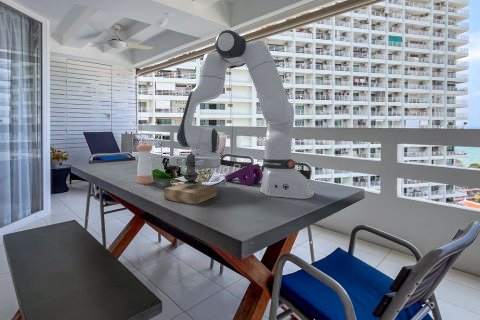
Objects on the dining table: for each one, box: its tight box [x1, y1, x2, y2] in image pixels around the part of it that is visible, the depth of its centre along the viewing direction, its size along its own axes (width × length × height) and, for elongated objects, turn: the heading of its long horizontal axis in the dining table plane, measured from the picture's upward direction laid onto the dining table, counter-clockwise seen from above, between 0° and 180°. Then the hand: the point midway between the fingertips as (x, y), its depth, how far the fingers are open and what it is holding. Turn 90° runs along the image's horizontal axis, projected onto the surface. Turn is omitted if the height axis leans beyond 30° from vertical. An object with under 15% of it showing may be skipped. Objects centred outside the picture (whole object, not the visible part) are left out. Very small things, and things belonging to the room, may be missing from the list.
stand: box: [163, 183, 218, 205], centre depth 103 cm, size 14×14×4 cm
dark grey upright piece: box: [182, 151, 199, 184], centre depth 102 cm, size 6×6×12 cm
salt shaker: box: [136, 142, 154, 185], centre depth 130 cm, size 7×7×19 cm
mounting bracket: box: [224, 163, 263, 187], centre depth 135 cm, size 9×8×18 cm
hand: (190, 163), depth 101 cm, fingers closed on dark grey upright piece, 4 cm apart
